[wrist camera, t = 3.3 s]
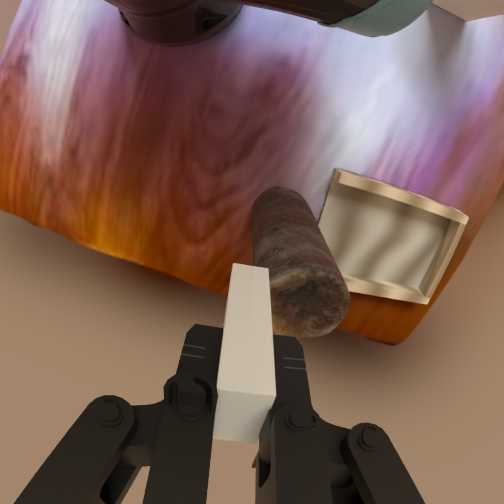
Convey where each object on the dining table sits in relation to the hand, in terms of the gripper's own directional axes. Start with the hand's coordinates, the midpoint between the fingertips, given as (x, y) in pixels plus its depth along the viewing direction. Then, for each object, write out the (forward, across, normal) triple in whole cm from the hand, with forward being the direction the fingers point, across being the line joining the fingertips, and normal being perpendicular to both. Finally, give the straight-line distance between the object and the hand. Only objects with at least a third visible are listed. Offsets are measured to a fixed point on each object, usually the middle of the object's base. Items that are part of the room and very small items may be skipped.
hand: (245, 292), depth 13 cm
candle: (+26, +5, -5) cm, 27 cm away
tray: (+26, +20, -6) cm, 33 cm away
